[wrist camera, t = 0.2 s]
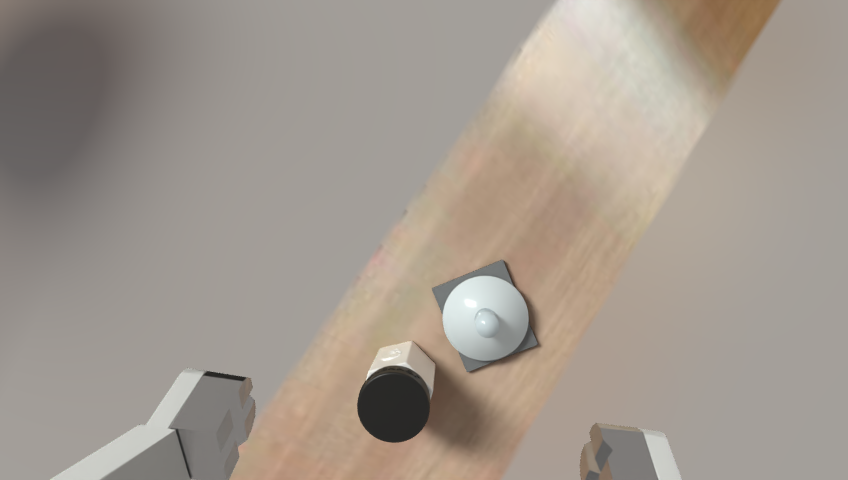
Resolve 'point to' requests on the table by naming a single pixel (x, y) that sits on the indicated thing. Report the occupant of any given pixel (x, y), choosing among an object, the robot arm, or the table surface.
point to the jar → (397, 393)
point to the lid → (485, 318)
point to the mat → (493, 270)
